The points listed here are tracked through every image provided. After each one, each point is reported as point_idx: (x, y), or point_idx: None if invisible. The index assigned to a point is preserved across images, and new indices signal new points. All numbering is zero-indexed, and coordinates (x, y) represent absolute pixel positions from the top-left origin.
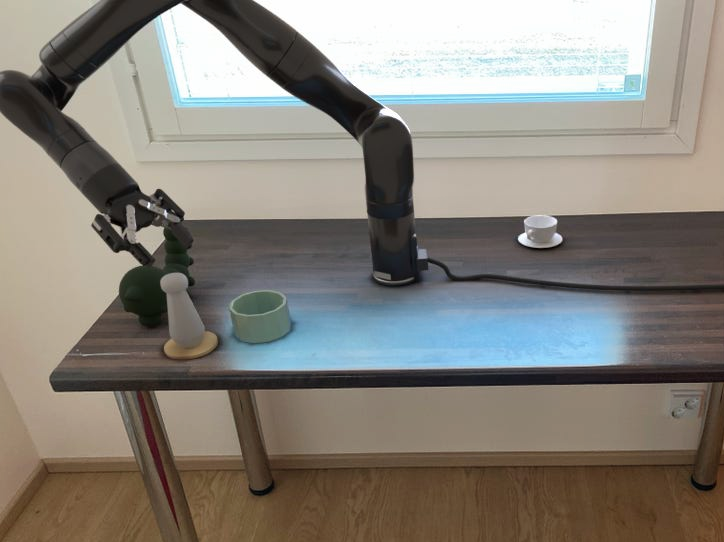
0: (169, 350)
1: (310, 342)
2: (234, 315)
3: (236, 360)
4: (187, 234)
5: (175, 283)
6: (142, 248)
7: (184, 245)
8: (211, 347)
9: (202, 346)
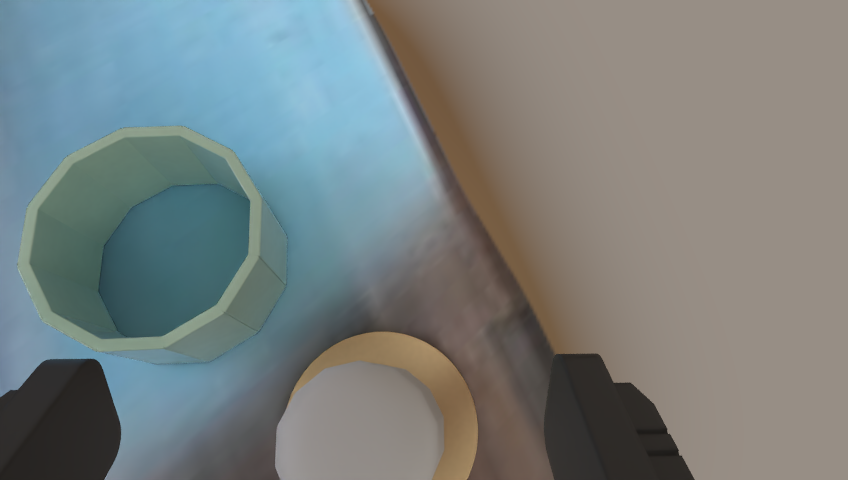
0: (455, 466)
1: (220, 81)
2: (258, 266)
3: (395, 217)
4: (24, 401)
5: (403, 378)
6: (632, 459)
7: (110, 453)
8: (376, 332)
9: None
